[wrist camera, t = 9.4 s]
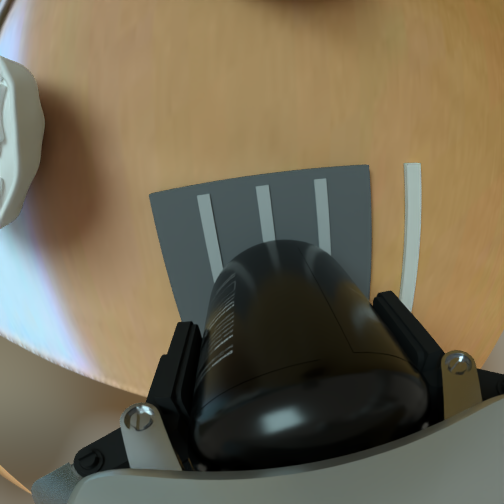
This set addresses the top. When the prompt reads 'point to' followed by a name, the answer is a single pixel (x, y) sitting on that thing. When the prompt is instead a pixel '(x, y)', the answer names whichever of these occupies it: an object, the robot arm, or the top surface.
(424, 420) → the supplement bottle
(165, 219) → the mat
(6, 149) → the cell model
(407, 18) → the top surface
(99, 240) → the top surface
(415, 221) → the strip
